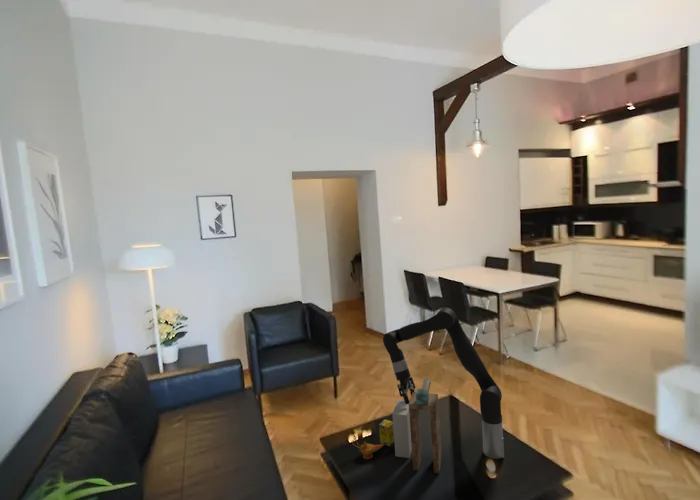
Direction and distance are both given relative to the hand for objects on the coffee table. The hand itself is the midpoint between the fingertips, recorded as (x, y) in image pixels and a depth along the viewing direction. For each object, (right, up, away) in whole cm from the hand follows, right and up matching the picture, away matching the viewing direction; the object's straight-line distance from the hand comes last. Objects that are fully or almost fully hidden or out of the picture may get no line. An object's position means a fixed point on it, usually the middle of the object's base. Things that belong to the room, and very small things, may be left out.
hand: (411, 401), depth 192 cm
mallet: (+5, +8, -11) cm, 15 cm away
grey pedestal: (-3, -24, -1) cm, 24 cm away
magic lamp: (-21, -26, -5) cm, 33 cm away
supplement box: (-11, -24, +5) cm, 27 cm away
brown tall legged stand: (+6, -24, -14) cm, 28 cm away
